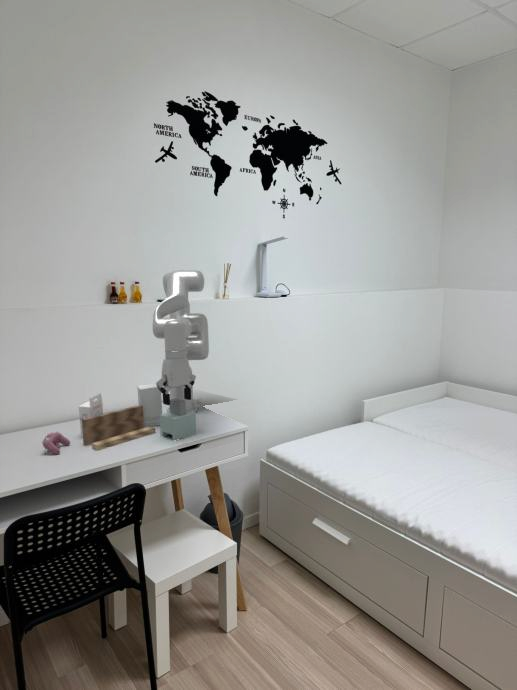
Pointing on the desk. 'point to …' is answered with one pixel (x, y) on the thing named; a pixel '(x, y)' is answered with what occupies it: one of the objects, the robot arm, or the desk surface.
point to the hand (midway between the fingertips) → (177, 401)
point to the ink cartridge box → (90, 409)
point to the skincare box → (150, 404)
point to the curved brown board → (114, 427)
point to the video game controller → (54, 442)
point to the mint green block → (178, 420)
